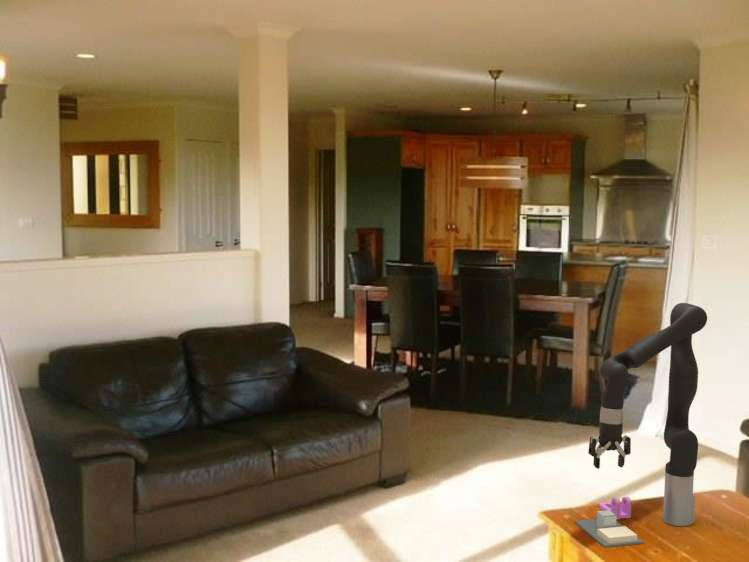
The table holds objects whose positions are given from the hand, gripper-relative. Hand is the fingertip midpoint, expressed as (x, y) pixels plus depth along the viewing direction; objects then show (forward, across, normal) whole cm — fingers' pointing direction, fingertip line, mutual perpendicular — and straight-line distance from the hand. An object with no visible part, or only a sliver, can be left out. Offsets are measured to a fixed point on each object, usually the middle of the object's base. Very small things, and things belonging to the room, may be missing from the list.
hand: (608, 467), depth 287 cm
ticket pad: (+20, +2, +5) cm, 21 cm away
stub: (+20, +2, +4) cm, 21 cm away
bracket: (+21, -9, -11) cm, 25 cm away
